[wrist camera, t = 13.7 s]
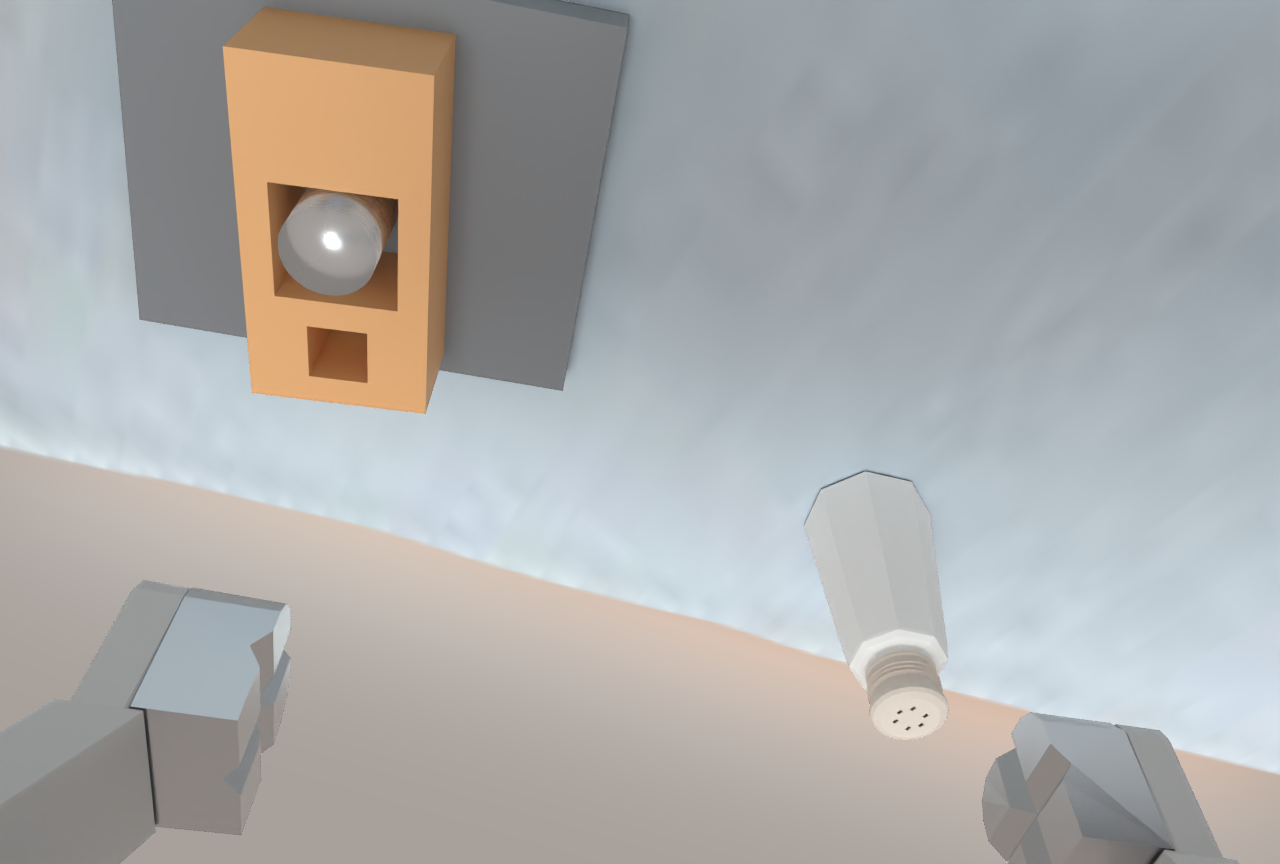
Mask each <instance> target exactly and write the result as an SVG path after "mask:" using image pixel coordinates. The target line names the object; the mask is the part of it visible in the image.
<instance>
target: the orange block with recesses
mask: <svg viewBox="0 0 1280 864" xmlns="http://www.w3.org/2000/svg"><path fill="white" fill-rule="evenodd" d="M455 39H456V34H451V33H444V32H437V31H430V30H423V29H416V28H409V27H402V26H395V25H388V24H381V23H374V22H367V21H360V20H353V19H346V18H339V17H332V16H324V15H317V14H310V13H303V12H296V11H289V10H282V9H275V8H268V7H263V8H262V9H261V10H260V11H259V12H258V13H257V14H256V15H255V16H254V17H253V18H252V19H251V20H250V21H249V22H248V23H246V24H245V25H244V26H243V27H242V28H241V29H240V30H239V31H238V32H237V33H236V34H235V35H234V36H233V37H232V38H231V39H230V40H229V41H228V42H227V43H225V44H224V45H223V56H224V68H225V80H226V92H227V104H228V115H229V127H230V139H231V151H232V163H233V174H234V186H235V198H236V210H237V222H238V234H239V245H240V257H241V269H242V281H243V293H244V305H245V316H246V328H247V340H248V352H249V364H250V375H251V387H252V393H257V394H265V395H273V396H282V397H290V398H298V399H306V400H315V401H323V402H331V403H340V404H348V405H356V406H365V407H373V408H381V409H389V410H398V411H406V412H414V413H423V414H426V410H427V407H428V404H429V401H430V397H431V394H432V391H433V387H434V384H435V381H436V378H437V374H438V371H439V368H440V365H441V361H442V358H443V355H444V339H445V311H446V284H447V257H448V230H449V203H450V175H451V148H452V121H453V94H454V67H455ZM304 187H309V188H316V189H324V190H331V191H339V192H346V193H354V194H361V195H369V196H377V197H384V198H392V199H398V253H395V252H387V251H383V252H382V255H381V257H380V259H379V261H378V263H377V266H376V268H375V270H374V272H373V274H372V276H371V278H370V280H369V281H368V282H367V283H366V284H365V285H364V286H363V287H362V288H360V289H359V290H357V291H355V292H353V293H350V294H346V295H340V296H330V295H324V294H319V293H316V292H314V291H311V290H309V289H307V288H305V287H304V286H302V285H301V284H299V283H298V282H297V281H296V280H295V279H294V278H292V277H291V275H290V274H289V273H288V272H287V270H286V269H285V267H284V266H283V264H282V262H281V259H280V256H279V252H278V236H279V232H280V230H281V228H282V226H283V225H284V223H285V221H286V220H287V218H288V217H289V215H290V213H291V212H292V210H293V209H294V207H295V206H296V204H297V203H298V201H299V199H300V198H301V196H302V195H303V193H304Z"/></svg>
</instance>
